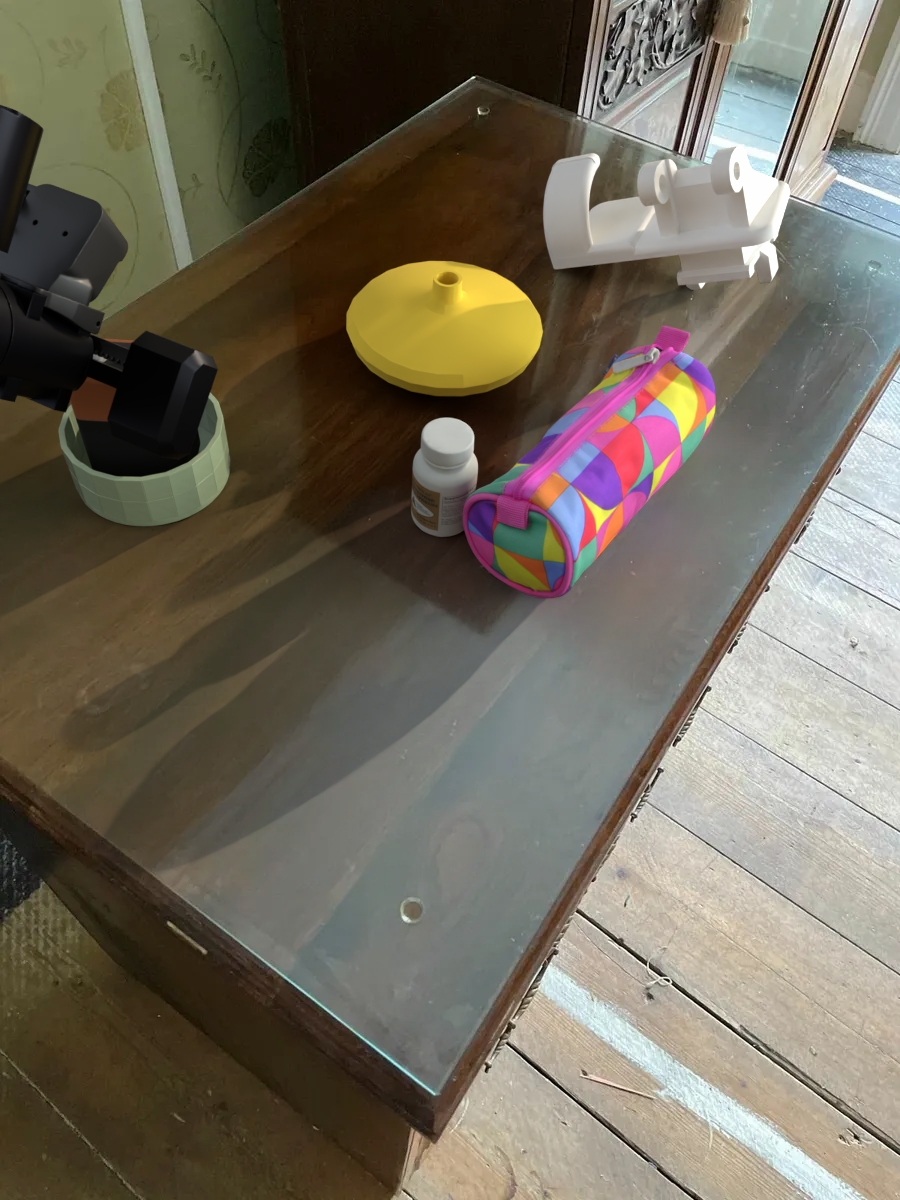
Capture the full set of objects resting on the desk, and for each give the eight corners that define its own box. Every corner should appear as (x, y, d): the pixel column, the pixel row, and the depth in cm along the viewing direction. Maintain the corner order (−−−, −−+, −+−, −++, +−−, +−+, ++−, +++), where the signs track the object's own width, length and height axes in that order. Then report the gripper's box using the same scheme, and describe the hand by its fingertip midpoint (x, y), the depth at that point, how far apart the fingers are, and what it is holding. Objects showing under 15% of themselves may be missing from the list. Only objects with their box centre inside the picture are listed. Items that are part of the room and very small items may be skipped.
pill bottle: (401, 502, 68) (403, 421, 62) (456, 486, 69) (463, 405, 63) (426, 546, 66) (430, 466, 60) (482, 528, 67) (493, 448, 61)
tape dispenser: (564, 328, 89) (522, 191, 82) (612, 269, 95) (578, 137, 88) (778, 312, 77) (752, 150, 70) (817, 246, 84) (798, 90, 76)
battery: (192, 486, 67) (167, 372, 59) (93, 481, 66) (55, 366, 58) (202, 443, 69) (180, 328, 61) (107, 438, 69) (73, 322, 61)
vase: (420, 272, 85) (423, 198, 79) (572, 342, 80) (587, 269, 75) (307, 362, 77) (301, 287, 71) (469, 447, 72) (477, 373, 66)
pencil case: (601, 398, 76) (625, 302, 69) (707, 449, 73) (743, 355, 66) (447, 566, 65) (455, 472, 58) (565, 634, 62) (590, 544, 55)
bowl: (85, 541, 64) (68, 495, 61) (68, 434, 70) (51, 386, 67) (244, 508, 67) (237, 462, 63) (214, 407, 73) (206, 360, 69)
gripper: (168, 226, 45) (305, 305, 60) (-131, 117, 49) (67, 217, 64) (96, 449, 47) (247, 472, 62) (-187, 326, 51) (19, 375, 66)
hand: (143, 378), depth 63 cm, fingers closed on battery, 7 cm apart
